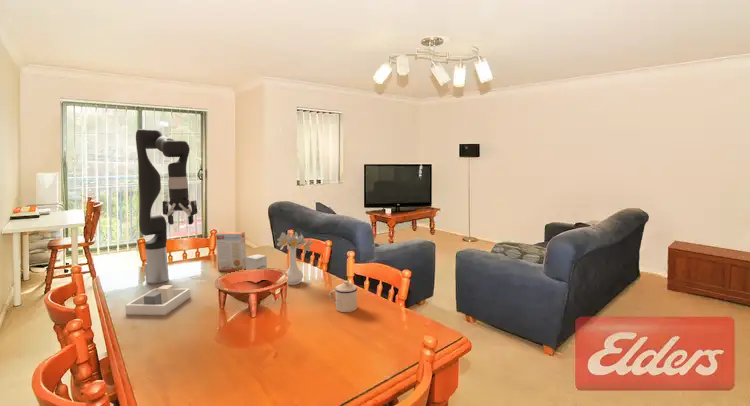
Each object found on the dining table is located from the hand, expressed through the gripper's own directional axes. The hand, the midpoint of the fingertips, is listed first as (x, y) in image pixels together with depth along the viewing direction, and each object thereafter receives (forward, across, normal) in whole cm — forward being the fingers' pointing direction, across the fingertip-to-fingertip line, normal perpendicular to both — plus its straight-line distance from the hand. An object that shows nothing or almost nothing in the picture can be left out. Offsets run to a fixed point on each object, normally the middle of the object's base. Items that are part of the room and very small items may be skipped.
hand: (181, 224), depth 175 cm
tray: (+33, +6, +10) cm, 35 cm away
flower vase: (+33, -44, -21) cm, 59 cm away
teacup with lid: (+33, -72, +10) cm, 80 cm away
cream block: (+32, +6, +6) cm, 33 cm away
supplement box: (+33, -24, -24) cm, 48 cm away
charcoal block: (+32, +6, +14) cm, 36 cm away
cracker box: (+33, -4, -42) cm, 54 cm away
